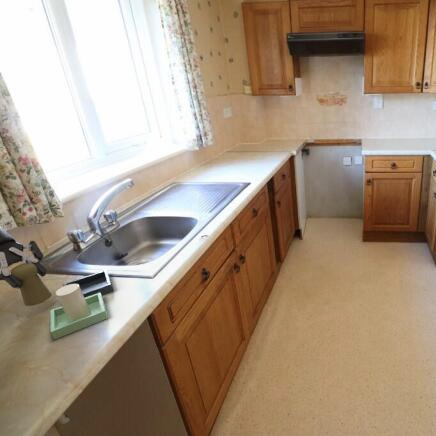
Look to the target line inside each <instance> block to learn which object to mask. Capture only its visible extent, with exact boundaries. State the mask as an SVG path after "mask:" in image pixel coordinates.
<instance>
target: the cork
mask: <svg viewBox="0 0 436 436" xmlns="http://www.w3.org/2000/svg"><path fill="white" fill-rule="evenodd" d="M11 274H12V275H13V276H14V277H15V278H16V279H18V280H19V281H20V282H21V283H22V287H21V288H19V291H20V295H21V298H22V300H23V304H24V306H26V307H33V306H37V305H40V304H42V303H44V302H46V301H48V300H49V299H50V298H51V297H52V293H51V291H50V290H49V288H48V287H47V285H46V284H45V283H44V281H43V280H42V279H41V276H40V275H39V274H38V273H37V267H36V266H35V265H34V264H32V263H25V264H23V263H20V264H18V265H16V266H14V267H13V268H12V269H11V271H10V275H11Z"/></svg>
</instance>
